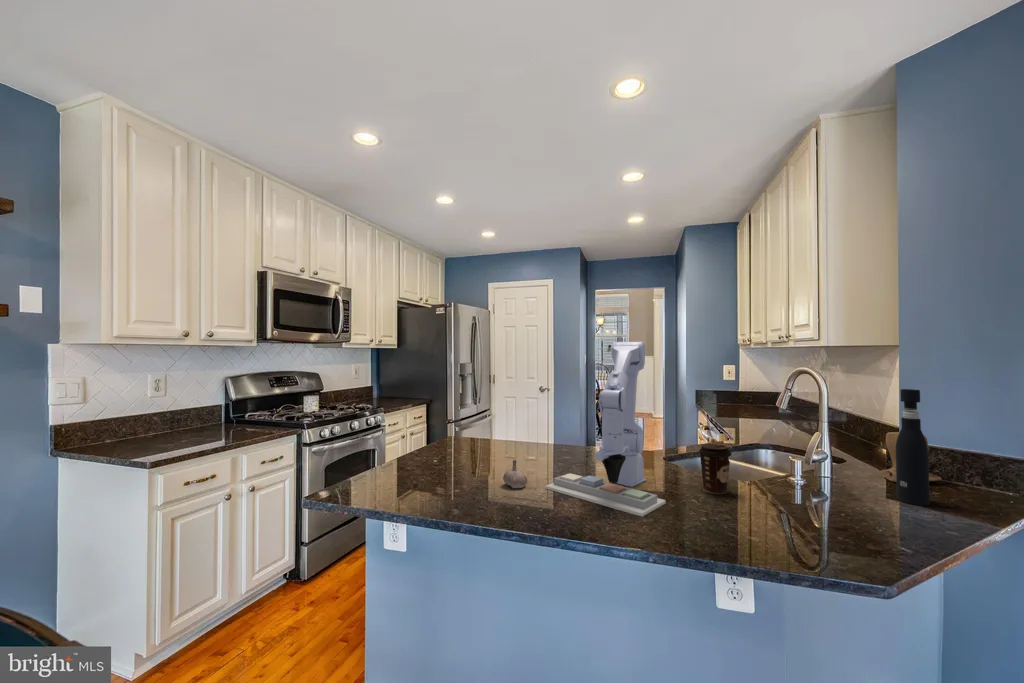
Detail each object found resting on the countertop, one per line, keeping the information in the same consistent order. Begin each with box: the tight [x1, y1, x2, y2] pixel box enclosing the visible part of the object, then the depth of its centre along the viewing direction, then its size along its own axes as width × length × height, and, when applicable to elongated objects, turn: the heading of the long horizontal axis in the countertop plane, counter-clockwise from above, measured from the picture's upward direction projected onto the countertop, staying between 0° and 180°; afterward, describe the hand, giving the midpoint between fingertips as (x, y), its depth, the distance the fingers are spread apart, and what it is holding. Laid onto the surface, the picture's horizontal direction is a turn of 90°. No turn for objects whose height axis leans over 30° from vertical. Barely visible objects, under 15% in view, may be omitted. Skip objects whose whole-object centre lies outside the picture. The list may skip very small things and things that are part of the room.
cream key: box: [561, 473, 584, 483], centre depth 127 cm, size 5×5×2 cm
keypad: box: [544, 473, 667, 518], centre depth 120 cm, size 13×31×3 cm, turn 45°
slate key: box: [580, 475, 604, 488], centre depth 122 cm, size 5×5×2 cm
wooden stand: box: [879, 431, 943, 483], centre depth 133 cm, size 15×12×15 cm
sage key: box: [624, 488, 650, 500], centre depth 112 cm, size 5×5×2 cm
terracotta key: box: [601, 482, 625, 494], centre depth 117 cm, size 5×5×2 cm
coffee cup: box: [698, 443, 732, 495], centre depth 123 cm, size 9×8×13 cm
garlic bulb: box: [502, 459, 528, 489], centre depth 128 cm, size 8×7×8 cm
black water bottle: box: [895, 388, 931, 507], centre depth 114 cm, size 6×6×30 cm
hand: (613, 482), depth 117 cm, fingers closed
